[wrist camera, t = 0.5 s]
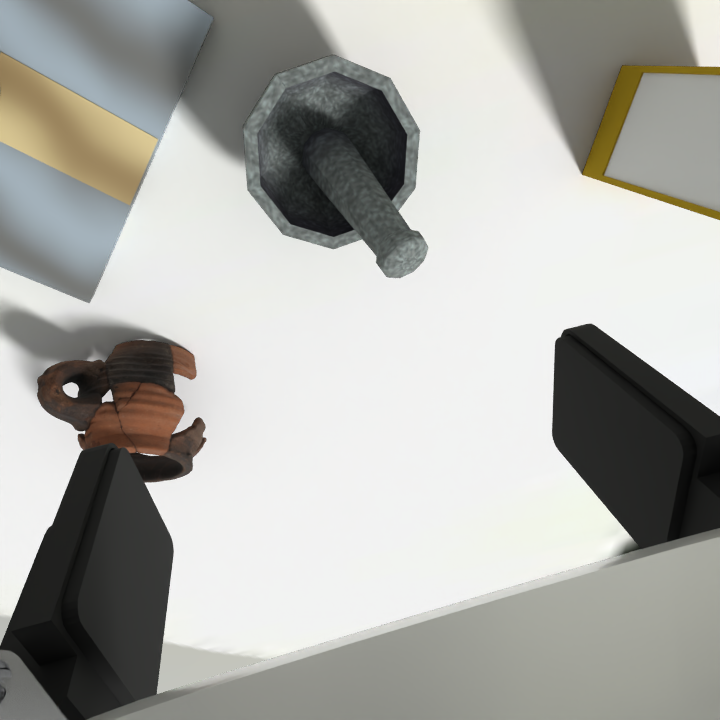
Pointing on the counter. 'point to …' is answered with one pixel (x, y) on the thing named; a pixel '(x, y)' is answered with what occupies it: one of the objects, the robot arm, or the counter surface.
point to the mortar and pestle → (336, 160)
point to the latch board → (83, 125)
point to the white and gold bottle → (662, 136)
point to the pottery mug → (129, 405)
